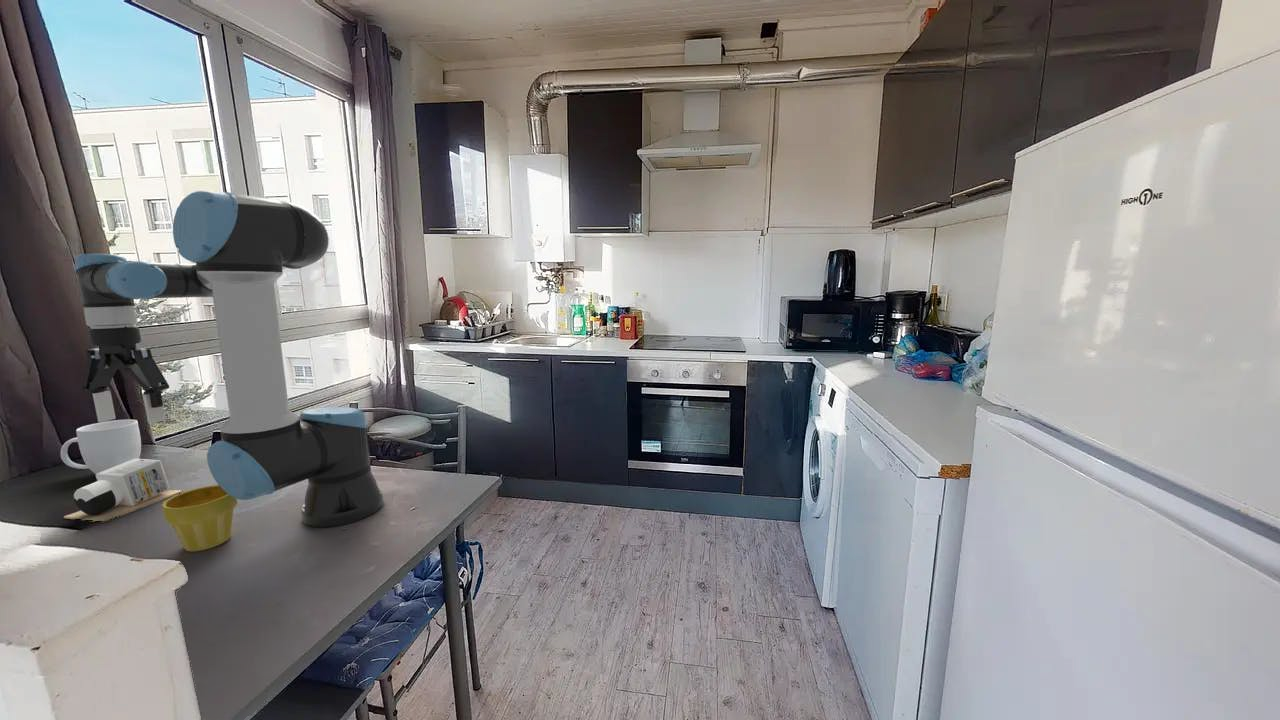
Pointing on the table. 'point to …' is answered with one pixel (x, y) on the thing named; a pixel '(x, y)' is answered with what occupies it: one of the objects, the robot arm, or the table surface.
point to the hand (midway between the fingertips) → (131, 421)
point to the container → (122, 486)
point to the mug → (105, 445)
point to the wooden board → (122, 508)
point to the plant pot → (201, 517)
